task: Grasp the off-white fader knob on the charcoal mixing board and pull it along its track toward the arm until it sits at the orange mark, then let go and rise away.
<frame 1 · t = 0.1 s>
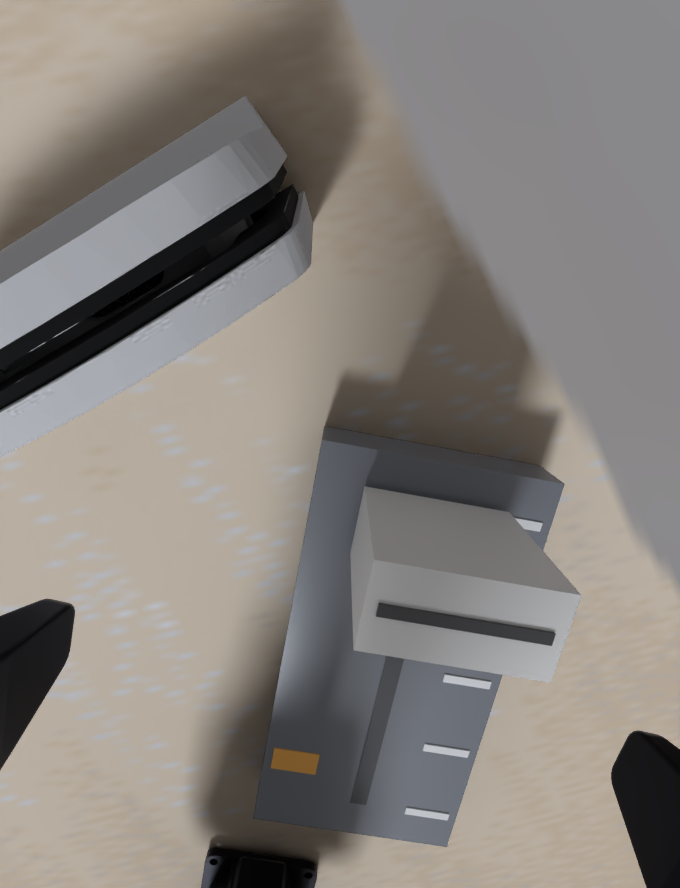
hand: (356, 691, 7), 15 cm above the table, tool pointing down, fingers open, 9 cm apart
fader knob: (444, 570, 16), point 6 cm above the table, slide at 0.0 cm
fader board: (387, 633, 24), on the table
hinge: (134, 296, 20), on the table
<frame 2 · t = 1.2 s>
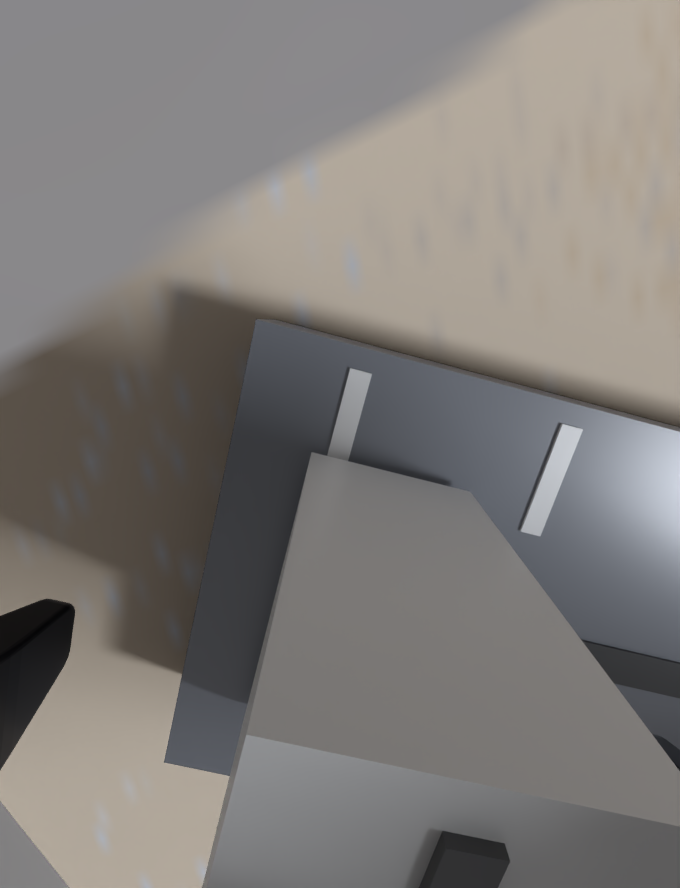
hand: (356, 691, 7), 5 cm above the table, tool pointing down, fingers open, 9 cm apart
fader knob: (352, 746, 6), point 6 cm above the table, slide at 0.0 cm
fader board: (604, 607, 12), on the table
hinge: (31, 867, 15), on the table
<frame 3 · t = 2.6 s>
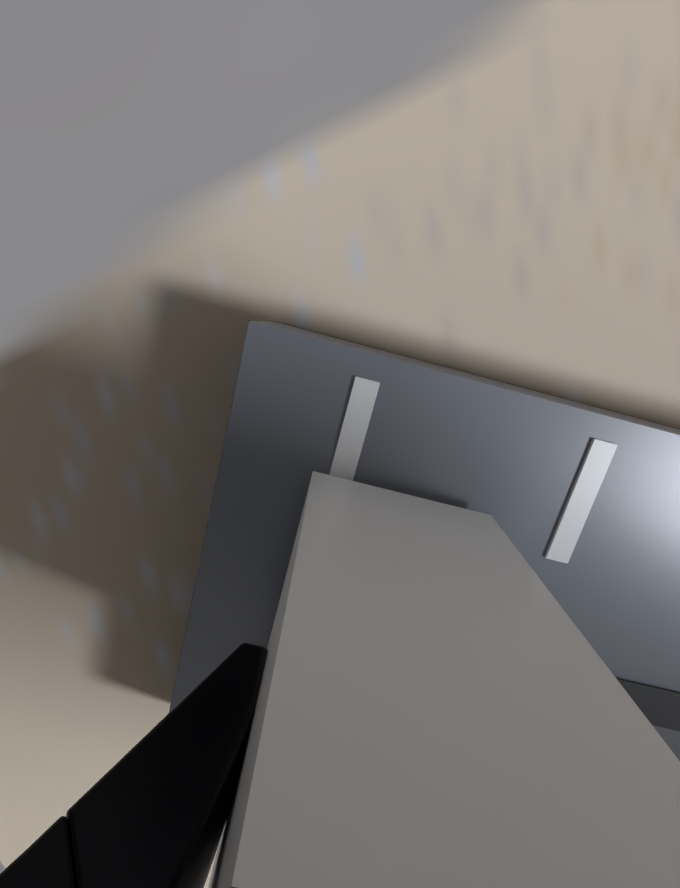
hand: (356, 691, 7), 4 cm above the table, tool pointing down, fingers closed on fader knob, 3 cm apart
fader knob: (361, 825, 5), point 6 cm above the table, slide at 0.0 cm, touching gripper
fader board: (629, 633, 11), on the table
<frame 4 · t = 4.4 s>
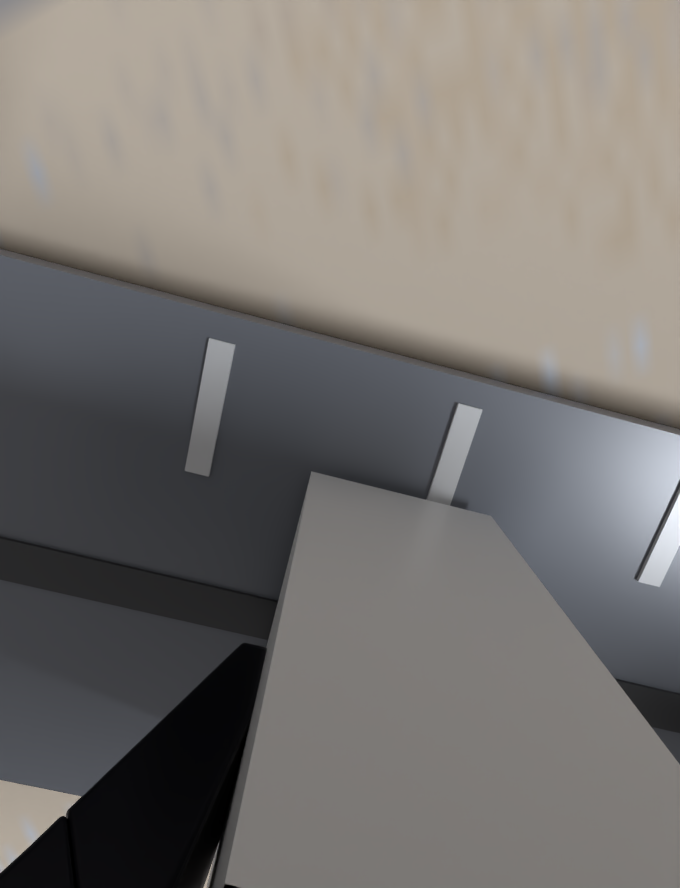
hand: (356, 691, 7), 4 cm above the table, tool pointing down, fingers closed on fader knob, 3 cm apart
fader knob: (359, 829, 5), point 6 cm above the table, slide at 6.3 cm, touching gripper
fader board: (379, 575, 11), on the table
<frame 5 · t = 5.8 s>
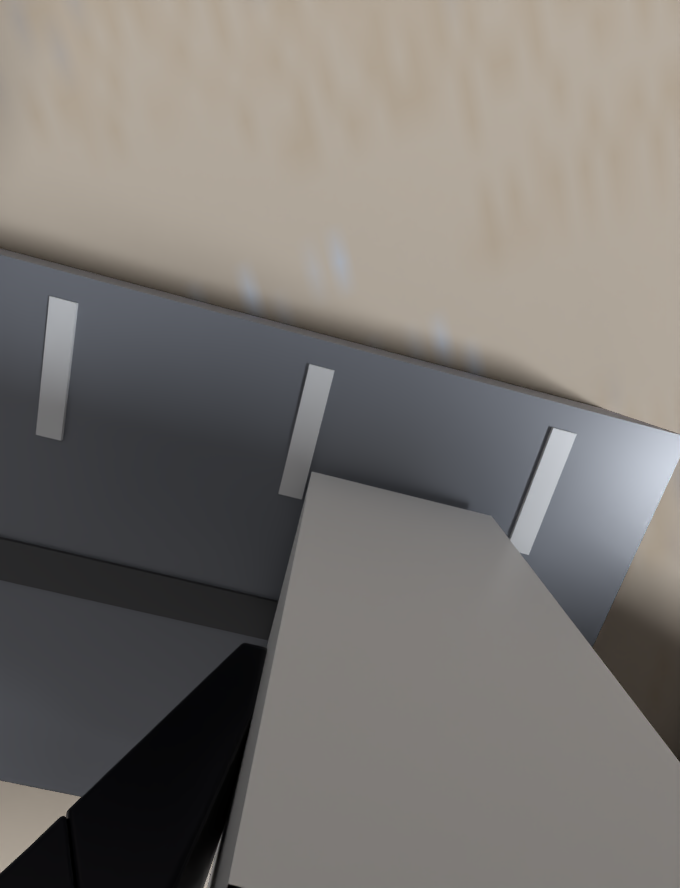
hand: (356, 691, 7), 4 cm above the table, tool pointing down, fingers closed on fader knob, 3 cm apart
fader knob: (360, 830, 5), point 6 cm above the table, slide at 12.7 cm, touching gripper
fader board: (105, 510, 11), on the table
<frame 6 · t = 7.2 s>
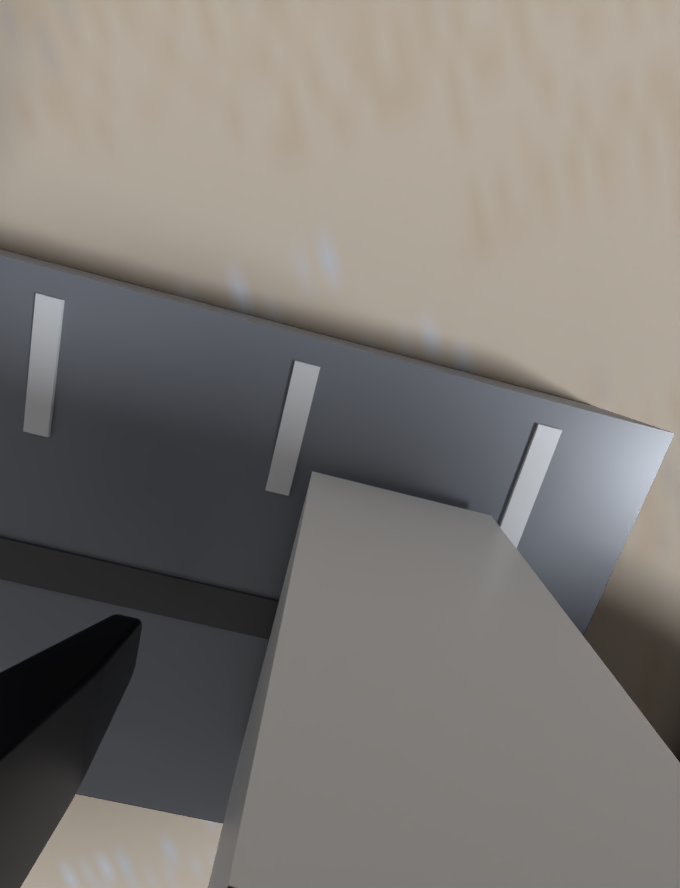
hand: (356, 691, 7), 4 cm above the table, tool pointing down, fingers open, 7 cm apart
fader knob: (361, 827, 5), point 6 cm above the table, slide at 13.0 cm
fader board: (96, 507, 11), on the table
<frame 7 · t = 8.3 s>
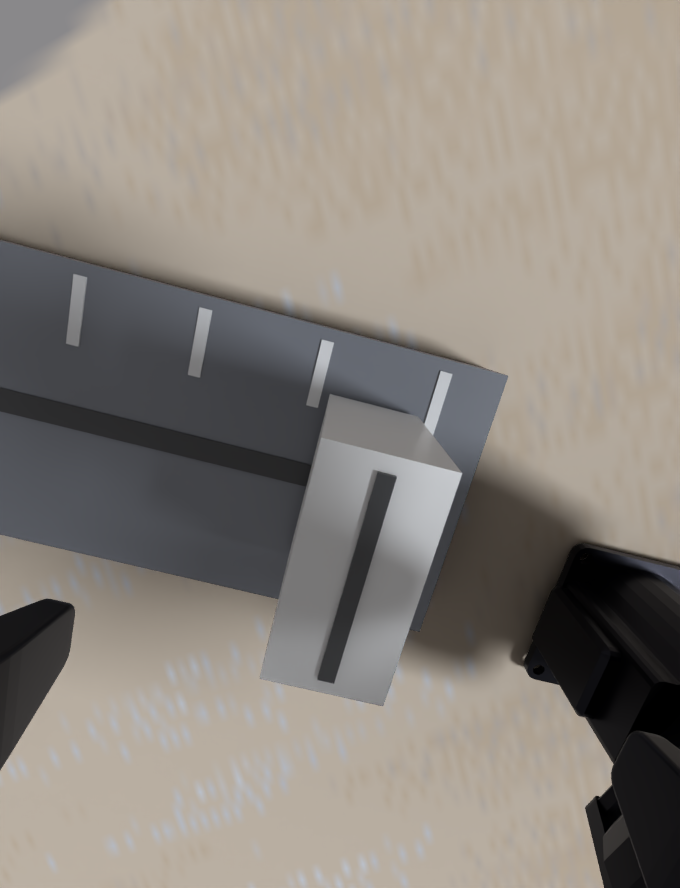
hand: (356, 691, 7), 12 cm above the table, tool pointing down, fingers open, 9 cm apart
fader knob: (352, 526, 13), point 6 cm above the table, slide at 13.0 cm
fader board: (203, 428, 19), on the table
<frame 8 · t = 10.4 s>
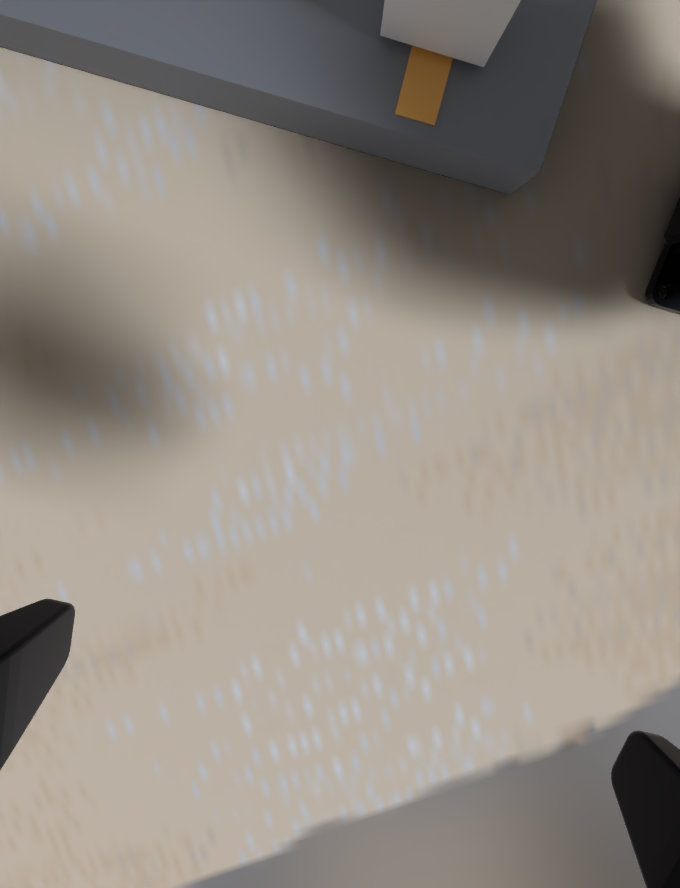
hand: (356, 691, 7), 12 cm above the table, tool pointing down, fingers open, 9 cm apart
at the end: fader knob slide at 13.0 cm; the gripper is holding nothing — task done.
